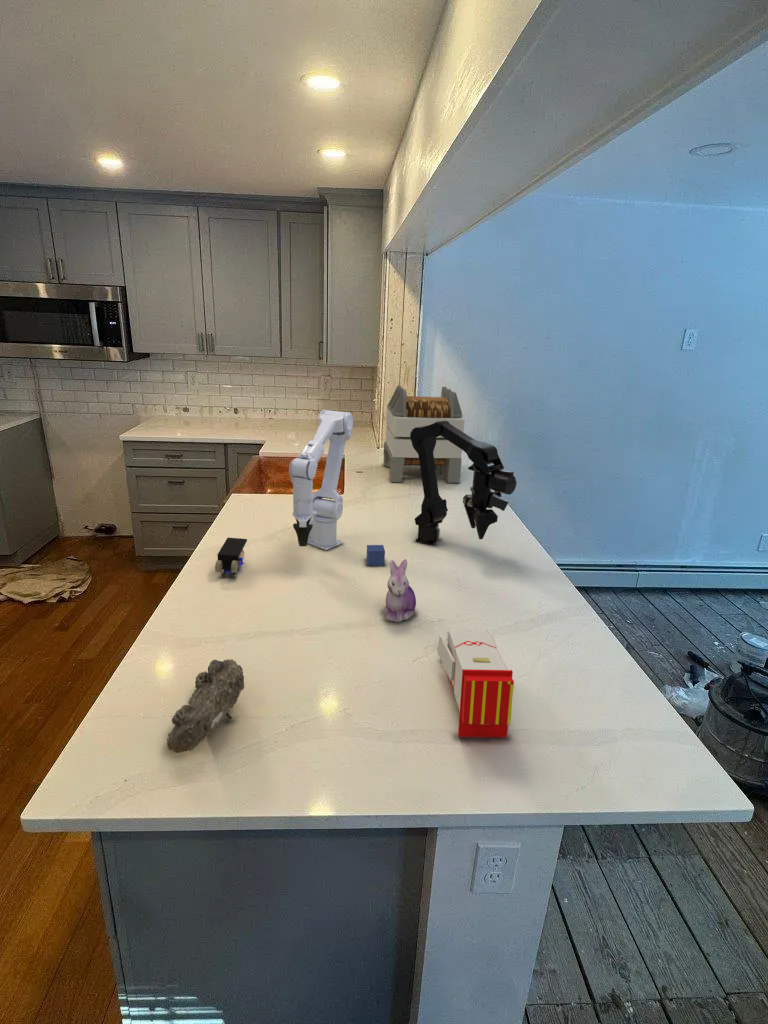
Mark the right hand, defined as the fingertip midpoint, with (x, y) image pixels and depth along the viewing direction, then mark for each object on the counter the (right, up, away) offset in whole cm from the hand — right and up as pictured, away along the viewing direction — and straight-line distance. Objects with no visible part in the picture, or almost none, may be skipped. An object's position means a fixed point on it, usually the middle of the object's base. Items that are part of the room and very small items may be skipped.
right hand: (476, 533), depth 179 cm
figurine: (-25, -20, -32) cm, 45 cm away
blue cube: (-32, -9, -2) cm, 33 cm away
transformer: (-12, +26, +96) cm, 100 cm away
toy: (-11, -31, -60) cm, 69 cm away
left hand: (-54, -2, -7) cm, 54 cm away
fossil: (-62, -32, -71) cm, 100 cm away
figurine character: (-74, -10, -11) cm, 76 cm away
